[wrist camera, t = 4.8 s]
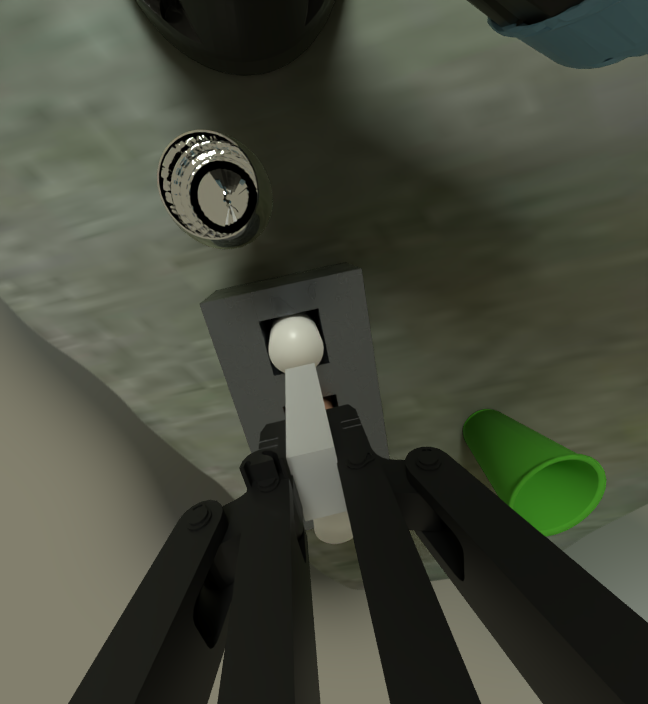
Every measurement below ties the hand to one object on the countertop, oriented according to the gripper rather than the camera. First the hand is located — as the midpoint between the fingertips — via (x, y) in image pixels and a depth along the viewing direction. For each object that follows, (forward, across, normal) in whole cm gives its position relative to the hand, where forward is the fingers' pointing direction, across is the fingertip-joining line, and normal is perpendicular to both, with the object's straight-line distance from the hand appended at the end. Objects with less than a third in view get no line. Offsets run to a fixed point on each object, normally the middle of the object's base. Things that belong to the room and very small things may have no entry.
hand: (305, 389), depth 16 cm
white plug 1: (+14, 0, -1) cm, 14 cm away
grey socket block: (+15, 0, -8) cm, 17 cm away
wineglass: (+15, -2, +10) cm, 18 cm away
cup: (+15, +19, -18) cm, 30 cm away
